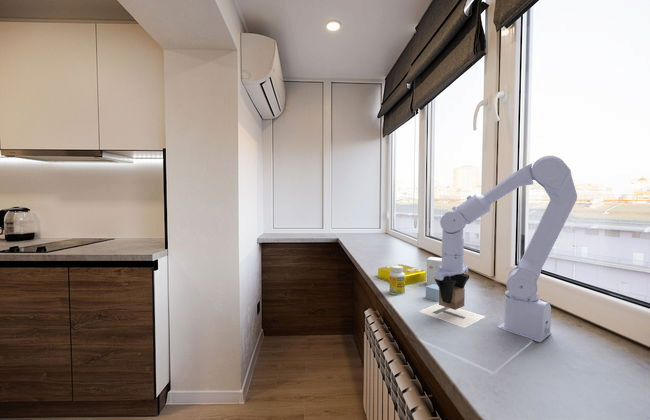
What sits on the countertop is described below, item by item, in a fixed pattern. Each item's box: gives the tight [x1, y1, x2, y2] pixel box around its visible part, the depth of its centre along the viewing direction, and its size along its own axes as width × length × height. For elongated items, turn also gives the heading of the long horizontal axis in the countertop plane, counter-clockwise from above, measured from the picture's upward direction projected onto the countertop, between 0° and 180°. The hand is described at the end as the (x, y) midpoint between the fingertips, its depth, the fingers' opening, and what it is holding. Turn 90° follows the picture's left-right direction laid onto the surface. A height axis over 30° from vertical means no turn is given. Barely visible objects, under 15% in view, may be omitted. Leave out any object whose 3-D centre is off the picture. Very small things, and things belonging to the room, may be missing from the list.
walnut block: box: [438, 286, 466, 310], centre depth 85 cm, size 5×5×5 cm
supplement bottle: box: [388, 265, 406, 296], centre depth 104 cm, size 5×5×10 cm
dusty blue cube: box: [425, 284, 439, 303], centre depth 98 cm, size 4×4×4 cm
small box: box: [426, 256, 442, 286], centre depth 113 cm, size 8×6×10 cm
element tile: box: [377, 263, 427, 287], centre depth 123 cm, size 15×15×5 cm
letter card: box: [418, 302, 486, 329], centre depth 85 cm, size 14×12×1 cm
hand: (451, 300), depth 85 cm, fingers closed on walnut block, 5 cm apart
